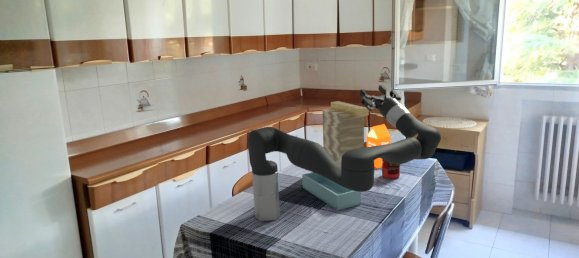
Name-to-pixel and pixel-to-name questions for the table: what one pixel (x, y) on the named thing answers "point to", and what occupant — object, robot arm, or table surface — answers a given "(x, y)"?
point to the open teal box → (330, 191)
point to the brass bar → (350, 108)
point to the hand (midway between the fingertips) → (370, 89)
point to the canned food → (390, 170)
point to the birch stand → (341, 133)
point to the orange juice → (378, 140)
